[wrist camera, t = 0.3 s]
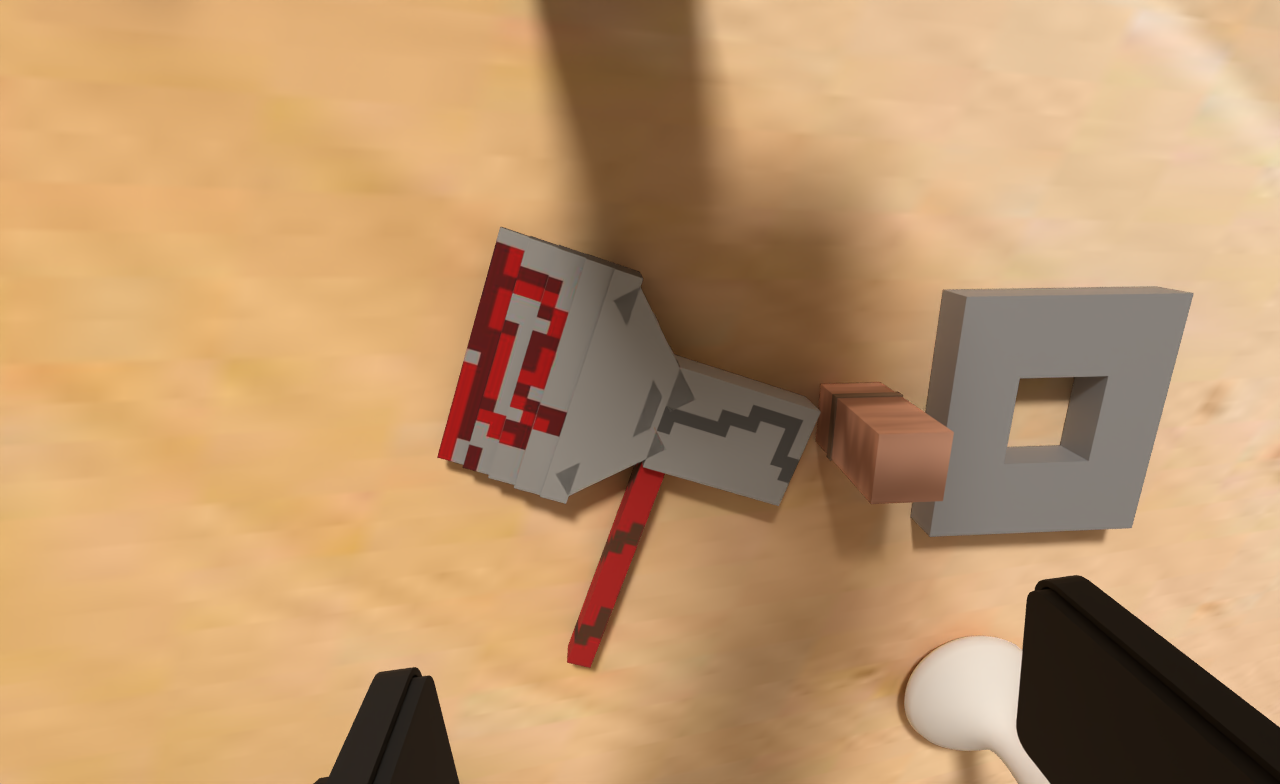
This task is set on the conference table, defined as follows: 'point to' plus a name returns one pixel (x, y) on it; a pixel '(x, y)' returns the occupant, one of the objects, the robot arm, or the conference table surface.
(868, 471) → the peg
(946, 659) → the flower in vase
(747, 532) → the conference table surface
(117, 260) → the conference table surface
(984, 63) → the conference table surface
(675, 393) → the grey and red axe
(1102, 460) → the board
